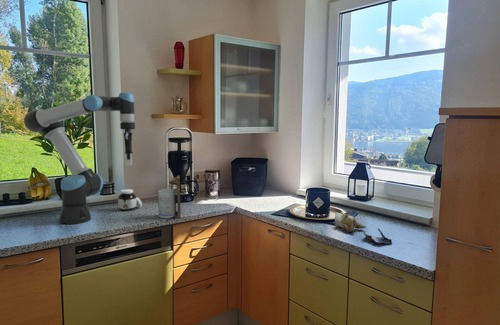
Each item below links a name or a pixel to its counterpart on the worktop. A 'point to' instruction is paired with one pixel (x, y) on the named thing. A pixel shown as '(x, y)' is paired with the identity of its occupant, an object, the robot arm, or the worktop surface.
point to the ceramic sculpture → (347, 222)
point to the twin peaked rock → (379, 239)
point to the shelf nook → (177, 180)
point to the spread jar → (128, 200)
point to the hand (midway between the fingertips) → (129, 165)
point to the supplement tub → (167, 203)
